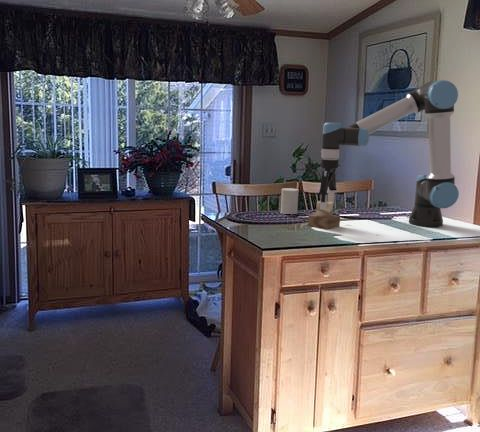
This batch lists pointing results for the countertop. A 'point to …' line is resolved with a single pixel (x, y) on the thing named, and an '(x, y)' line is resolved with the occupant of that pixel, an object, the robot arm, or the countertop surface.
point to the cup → (289, 201)
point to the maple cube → (326, 212)
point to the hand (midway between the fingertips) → (326, 207)
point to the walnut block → (324, 221)
